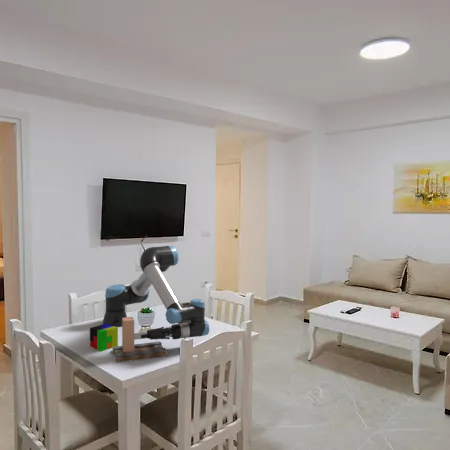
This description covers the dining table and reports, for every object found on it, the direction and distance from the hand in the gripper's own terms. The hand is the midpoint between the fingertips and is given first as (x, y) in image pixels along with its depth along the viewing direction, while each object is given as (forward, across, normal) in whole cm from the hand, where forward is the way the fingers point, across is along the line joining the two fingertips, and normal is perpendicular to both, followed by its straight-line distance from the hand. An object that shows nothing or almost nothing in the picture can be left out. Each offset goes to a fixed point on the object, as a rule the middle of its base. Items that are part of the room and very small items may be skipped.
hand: (133, 336), depth 204 cm
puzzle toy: (+13, +16, -9) cm, 22 cm away
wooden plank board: (-3, 0, -9) cm, 9 cm away
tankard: (-39, +28, -9) cm, 49 cm away
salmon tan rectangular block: (+3, 0, -7) cm, 8 cm away
